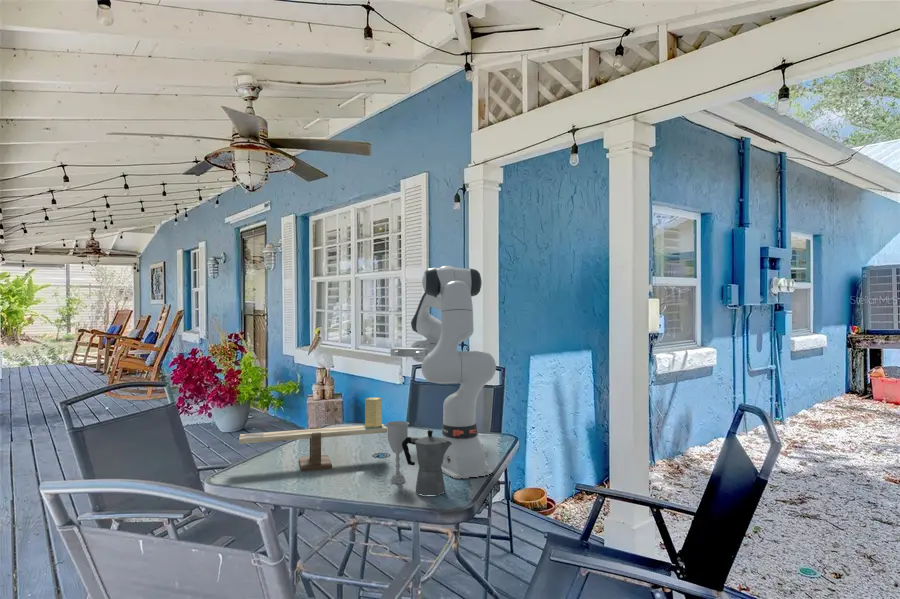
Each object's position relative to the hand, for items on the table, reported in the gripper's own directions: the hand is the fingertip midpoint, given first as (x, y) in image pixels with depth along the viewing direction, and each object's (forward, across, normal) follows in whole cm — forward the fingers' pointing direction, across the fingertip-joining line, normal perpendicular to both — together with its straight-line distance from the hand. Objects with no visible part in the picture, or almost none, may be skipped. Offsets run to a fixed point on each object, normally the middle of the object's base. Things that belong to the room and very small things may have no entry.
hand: (406, 353), depth 213 cm
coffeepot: (+46, +29, +36) cm, 66 cm away
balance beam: (+35, -18, +26) cm, 47 cm away
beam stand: (+35, -18, +36) cm, 53 cm away
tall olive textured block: (+22, -2, +24) cm, 33 cm away
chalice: (+41, +17, +36) cm, 57 cm away
